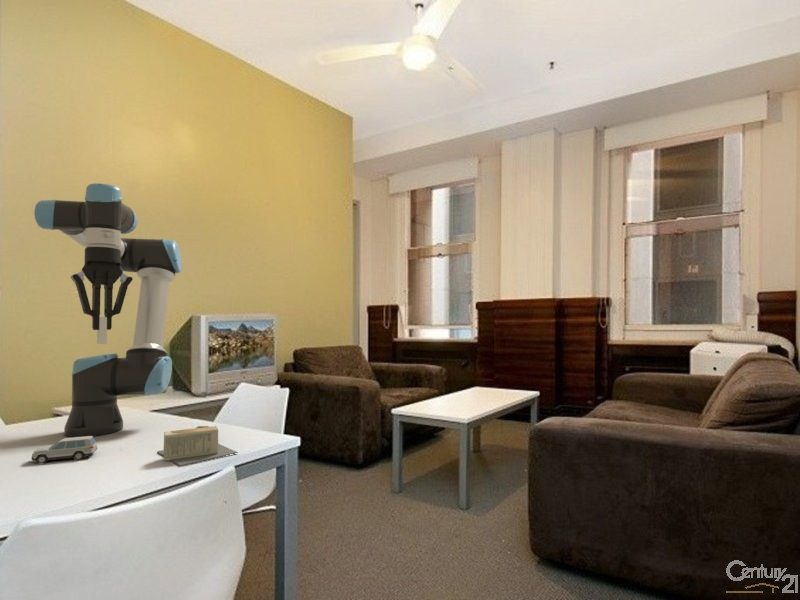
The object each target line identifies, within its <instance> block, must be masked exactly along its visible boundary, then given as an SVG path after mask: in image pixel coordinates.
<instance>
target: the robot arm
mask: <svg viewBox="0 0 800 600" xmlns="http://www.w3.org/2000/svg"><path fill="white" fill-rule="evenodd" d="M84 200H85V201H77V200H63V199H62V200H61V199H47V200H46V199H43V200H39V201H38V202H37V203H36V204H35V206H34V211H33V212H34V213H33V214H34V220H35V223H36V224H37V226H38V227H39V228H41V229H43V230H50V231H54V230H57V231H60V232H61V233H63V234H65V235H66V236H68V237H69V238H71V239H72V240H73V241H75V242H77V243H78V244H79V245H81V246H82V247H84V264H83V267H82V268H81V271H79V272H78V273H73V274H71V275H70V278H71V280H72V281H73V283H74V284H75V286H76V291H77V294H78V297H79V300H80V304H81V309H82V312H83V314H84V315H87V316H91V319H92V321H91V322H92V326H91V327H92V330H93V331H96V344H98V345H105V344H106V345H107V339H108V336H107V335H108V334H107V333H108V330H109V331H110V330H112V326H113V325H112V324H113V322H112V318H113V317H114V316H116V315H119V314H121V312H122V308H123V305H124V302H125V301H124V300H125V298H126V295H127V291H128V286H129V285H130V284H131V282H132V281H133V279H134V278H133V277H132V276H128V275H127V274H125V273H124V272H127V273H136V276H137V277H138V278H139V279H140V287H139V296H138V302H137V311H136V318H135V325H134V326H135V327H134V334H133V343H132V346H131V347H130V348H128V349H127V350H126V353H125V357H119V355H118V353H108V354H107V353H106V354H100V355H93V356H88V357H87V356H86V357H82V358H78V359H75V361H74V362H73V364H72V373H71V410H70V412H69V414H68V417H67V420H66V423H65V425H64V429H63V431H64V432H63V435H64V436H65V437H68V438H73V437H85V436H93V437H94V436H103V435H107V434H111V433H115V432H118V431H121V430H122V429H124V419H123V417H122V414H121V411H120V408H119V406H118V397H121V396H122V397H123V396H138V395H139V396H140V395H142V396H143V395H145V396H146V395H147V396H149V395H150V396H151V395H155V394H162V393H164V391H166V390H167V388H168V385H169V384H170V382H171V377H172V372H173V359H172V358H171V357H170V356H168V352H167V350H166V349H165V348H164V347H163V346H164V337H165V327H166V318H167V310H168V309H167V308H168V301H169V300H168V299H169V290H170V289H169V288H170V283H171V282H172V281H174V280H175V278H176V274H180V273H181V272H182V257H181V252H180V247H179V245H178V242H176V241H175V240H173V239H172V240H171V239H164V238H161V239H159V238H158V239H156V238H155V239H154V238H129V237H128V238H127V237H125V238H124V237H123V238H122V235H125V234H126V235H127V234H129V233H132V232H133V231H135V229H136V228H137V225H138V223H139V219H138V216H137V214H136V212H135V211H134V210H133V209H132V208H130V207H129V206H128V205H126V204H124V203H123V202H122V201H123V197H122V190H121V189H120V188H119V187H118V186H115V185H112V184H108V183H96V182H95V183H89V184H88V185H87V186H86V189H85V197H84ZM121 234H122V235H121ZM85 278H86V279H87V280H88V281H89V283H91V288H92V294H91V295H92V297H91V298H92V299H91V304H90V301H89V297H88V294H87V290H86V287H85V286H86V285H85V283H84V281H85ZM119 279H120V280H119ZM118 280H119V282H120V285H119V286H118V287H119V289H118V291H117V295H116V299H115V301H114V305H113V290H114V284H115V283H116V282H117V281H118ZM102 286H103V289H104V301H103V302H104V305H103V307H104V308H103V310H104V311H103V312H104V313H103V315H104V316H100V315H101V289H102Z"/></svg>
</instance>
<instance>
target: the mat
mask: <svg viewBox="0 0 800 600" xmlns="http://www.w3.org/2000/svg"><path fill="white" fill-rule="evenodd" d="M157 453H158V455H160V456H161V457H163V458H164V449H162V450H157ZM235 453H239V452H238V451H235V450H233V449H232V448H229V447H227V446H225V445H222V444H220V443H218V453H217V454H210V455H202V456H195V457H188V458H181V459H173V460H169V461H170V462H172V463H173V464H175V465H176V466H178V467H180V468H182V467H184V466H185V467H186V466H190V465H194V463H195V464H199V463H203V462H202V461H204V462H207V460H208V461H212V460H211V459H213V460H216V459H215V458H217V459H219V458H218V457H222V458H224V457H223V456H226V455H230V454H235ZM235 455H236V454H235ZM226 457H227V456H226ZM198 462H199V463H198ZM189 464H190V465H189Z"/></svg>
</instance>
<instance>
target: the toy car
mask: <svg viewBox="0 0 800 600" xmlns="http://www.w3.org/2000/svg"><path fill="white" fill-rule="evenodd" d="M97 450H98V445H97V441H96V440H95V438H94V436H85V437H64V438H63V439H62V438H61V439H60V440H59V441H57V442H56V443H53V444H50V445H49V444H47V445H44V446H41V447H39V448H36V449H35V450H34V451H33V452H32V453H31V454H32V455H31V460H32V461H36V463H37V464H38V463H44V464H46V463H47V462H49V461H54V460H64V459H73V460H75V461H81V460H83V459H84V458H85V457H88V456H91V455H93V454H94V453H95V452H96V451H97Z"/></svg>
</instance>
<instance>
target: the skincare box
mask: <svg viewBox="0 0 800 600" xmlns="http://www.w3.org/2000/svg"><path fill="white" fill-rule="evenodd" d="M218 444H219V429H218V426H217V425H216V426H214V425H213V426H209V427H203V428H196V427H194V428H187V429H175V430H168V431H166V430H165V431H163V450H164V457H163V459H164V461H170V460H173V459H181V458H188V457H195V456H202V455H210V454H217V453H218Z"/></svg>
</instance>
